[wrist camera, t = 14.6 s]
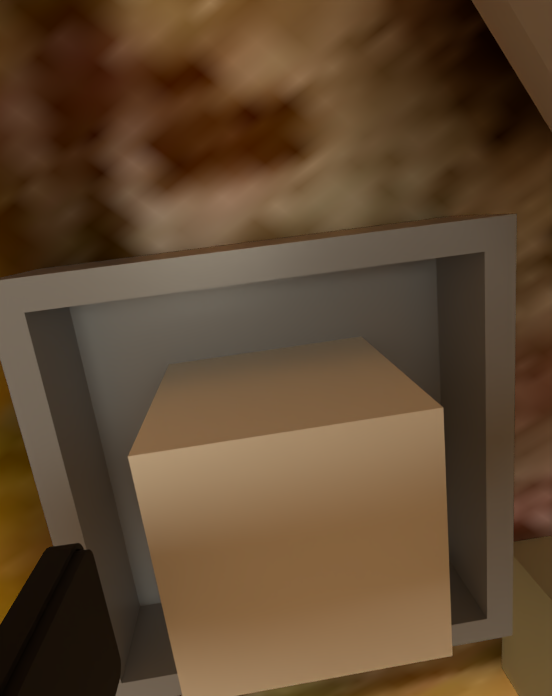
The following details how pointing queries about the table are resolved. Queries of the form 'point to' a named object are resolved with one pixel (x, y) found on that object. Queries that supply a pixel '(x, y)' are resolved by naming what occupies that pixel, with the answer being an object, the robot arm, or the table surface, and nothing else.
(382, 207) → the table surface
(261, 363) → the cream block
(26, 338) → the grey tray
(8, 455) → the table surface
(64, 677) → the robot arm
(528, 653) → the sage block
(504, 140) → the table surface
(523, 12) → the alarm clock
